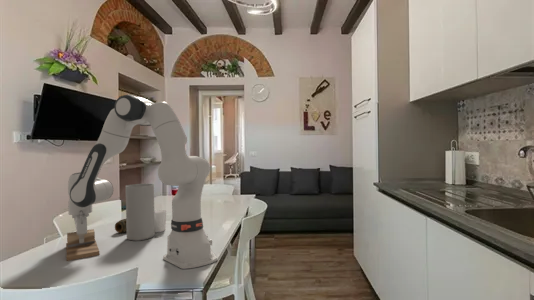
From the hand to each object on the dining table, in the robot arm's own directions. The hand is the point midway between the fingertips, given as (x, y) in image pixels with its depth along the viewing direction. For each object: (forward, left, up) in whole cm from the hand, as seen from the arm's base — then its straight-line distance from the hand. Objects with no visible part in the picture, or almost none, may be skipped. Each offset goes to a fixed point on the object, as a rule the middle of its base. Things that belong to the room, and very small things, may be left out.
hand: (81, 240), depth 132 cm
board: (-5, 0, -3) cm, 6 cm away
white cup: (+7, -34, -3) cm, 35 cm away
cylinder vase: (0, -24, -3) cm, 25 cm away
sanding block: (0, 0, -1) cm, 1 cm away
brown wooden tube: (+18, -22, -3) cm, 29 cm away
